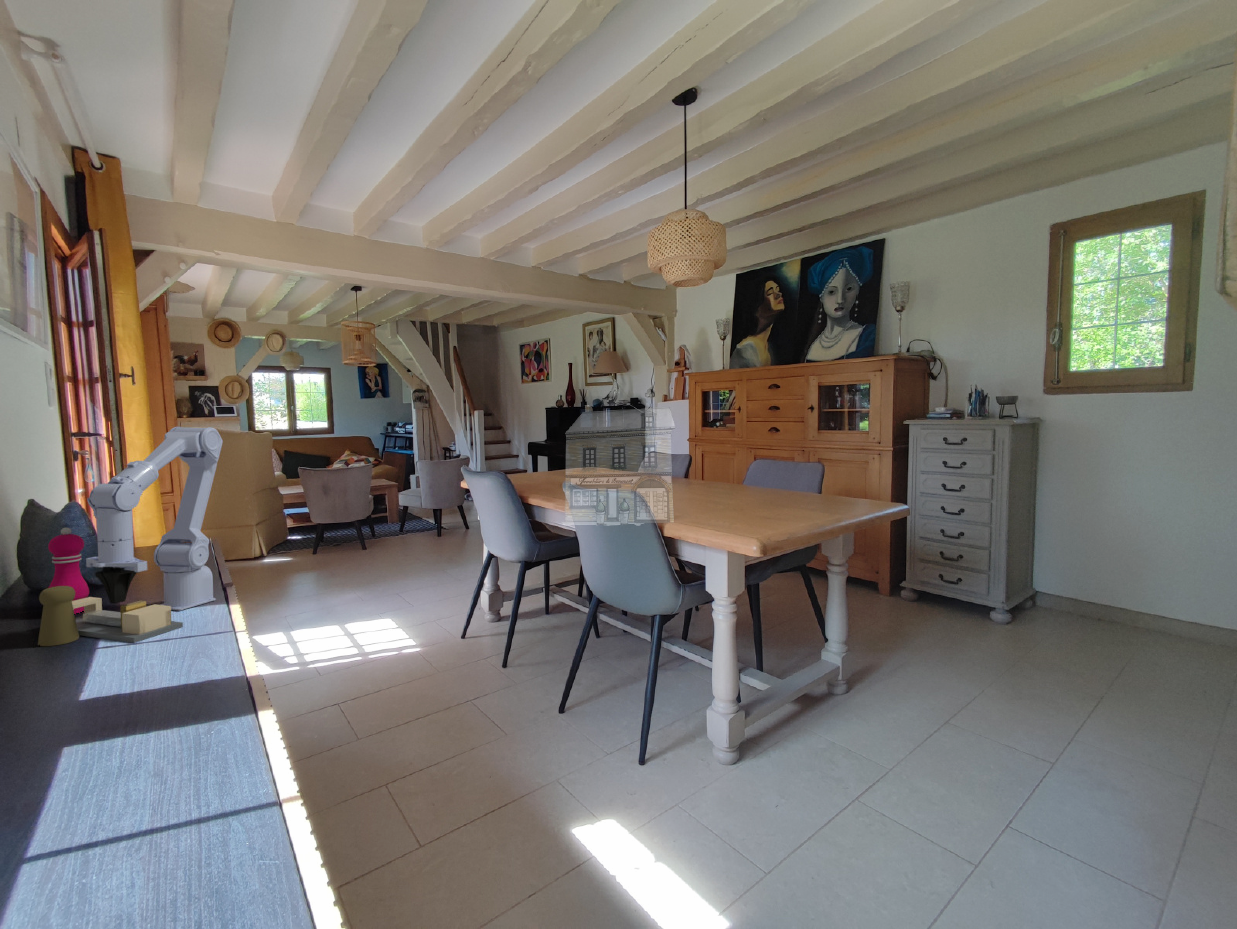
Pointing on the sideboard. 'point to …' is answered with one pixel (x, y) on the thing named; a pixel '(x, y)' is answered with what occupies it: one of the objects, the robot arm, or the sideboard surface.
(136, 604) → the rod
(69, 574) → the pepper mill
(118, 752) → the sideboard surface
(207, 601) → the robot arm
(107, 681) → the sideboard surface
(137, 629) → the jig board
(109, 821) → the sideboard surface
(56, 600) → the cork
